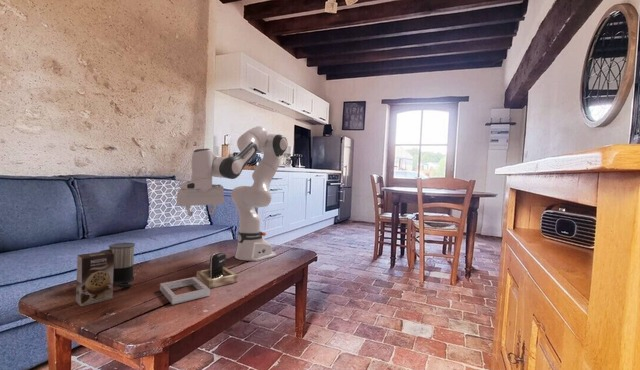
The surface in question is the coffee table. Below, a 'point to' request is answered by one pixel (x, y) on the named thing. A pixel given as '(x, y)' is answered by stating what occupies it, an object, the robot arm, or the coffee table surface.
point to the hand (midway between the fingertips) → (201, 215)
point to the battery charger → (217, 265)
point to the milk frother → (122, 263)
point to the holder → (175, 299)
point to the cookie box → (94, 277)
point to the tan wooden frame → (210, 283)
